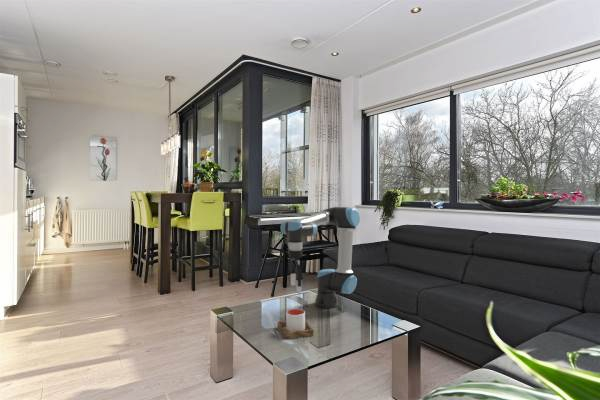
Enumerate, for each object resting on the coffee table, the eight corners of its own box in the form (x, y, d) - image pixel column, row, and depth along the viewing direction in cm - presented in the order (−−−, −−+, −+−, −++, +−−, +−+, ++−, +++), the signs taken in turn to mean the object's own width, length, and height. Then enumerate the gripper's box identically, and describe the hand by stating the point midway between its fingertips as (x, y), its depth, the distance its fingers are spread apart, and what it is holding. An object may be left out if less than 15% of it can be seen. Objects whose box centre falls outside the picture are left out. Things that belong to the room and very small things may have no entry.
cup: (303, 334, 184) (303, 315, 184) (284, 333, 186) (284, 314, 186) (306, 327, 194) (306, 309, 194) (288, 326, 196) (288, 308, 196)
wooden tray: (305, 324, 200) (305, 319, 200) (313, 335, 184) (313, 330, 184) (277, 327, 196) (277, 321, 196) (283, 338, 181) (282, 333, 181)
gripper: (284, 246, 202) (284, 283, 203) (293, 254, 178) (294, 296, 178) (296, 245, 204) (297, 282, 204) (308, 253, 179) (308, 294, 180)
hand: (296, 288), depth 191 cm, fingers open, 13 cm apart
